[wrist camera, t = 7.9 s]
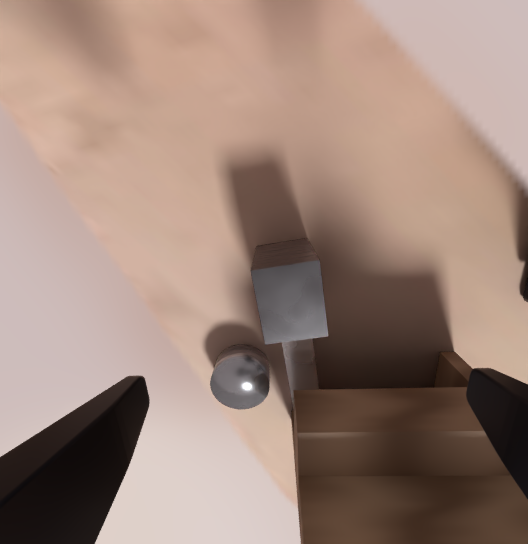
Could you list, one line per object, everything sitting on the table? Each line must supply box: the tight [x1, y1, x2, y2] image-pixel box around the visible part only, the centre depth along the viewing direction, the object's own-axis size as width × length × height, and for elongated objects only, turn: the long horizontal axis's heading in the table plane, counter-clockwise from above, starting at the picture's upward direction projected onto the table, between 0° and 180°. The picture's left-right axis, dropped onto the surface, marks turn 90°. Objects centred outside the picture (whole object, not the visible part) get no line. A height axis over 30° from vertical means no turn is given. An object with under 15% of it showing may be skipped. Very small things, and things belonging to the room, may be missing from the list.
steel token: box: [210, 345, 270, 409], centre depth 20 cm, size 4×4×2 cm
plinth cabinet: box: [291, 352, 528, 544], centre depth 16 cm, size 12×6×10 cm, turn 93°
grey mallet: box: [251, 238, 328, 410], centre depth 17 cm, size 3×12×5 cm, turn 10°
